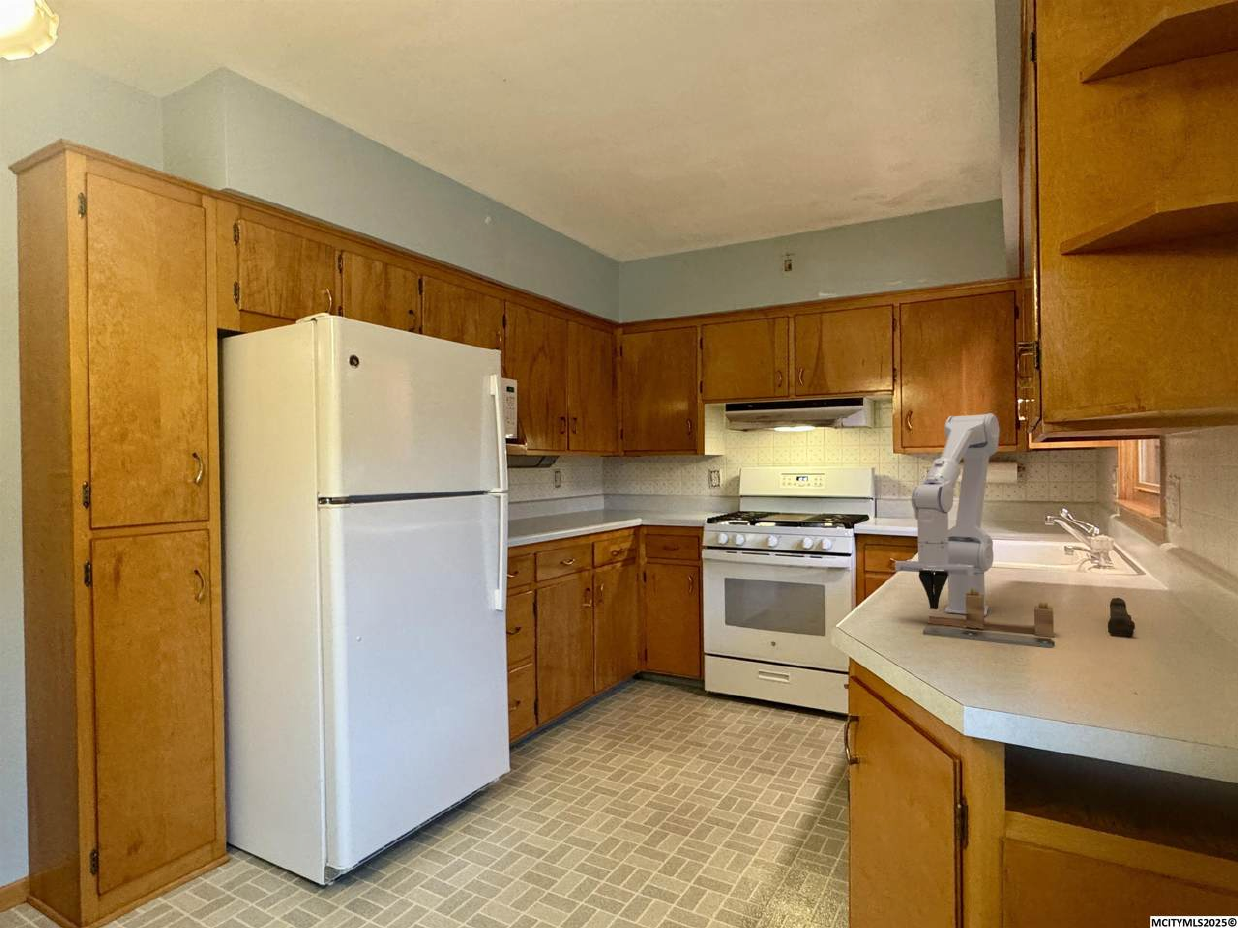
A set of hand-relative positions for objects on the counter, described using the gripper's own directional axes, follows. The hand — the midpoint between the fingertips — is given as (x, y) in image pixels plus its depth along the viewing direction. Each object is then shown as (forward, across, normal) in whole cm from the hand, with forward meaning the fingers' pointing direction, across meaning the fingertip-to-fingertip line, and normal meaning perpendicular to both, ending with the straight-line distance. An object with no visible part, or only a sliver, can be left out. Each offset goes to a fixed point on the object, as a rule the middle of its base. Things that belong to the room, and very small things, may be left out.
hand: (934, 608), depth 136 cm
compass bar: (+3, +10, 0) cm, 10 cm away
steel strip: (+3, +10, -8) cm, 13 cm away
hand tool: (+4, +31, +13) cm, 34 cm away
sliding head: (+3, +7, 0) cm, 8 cm away
